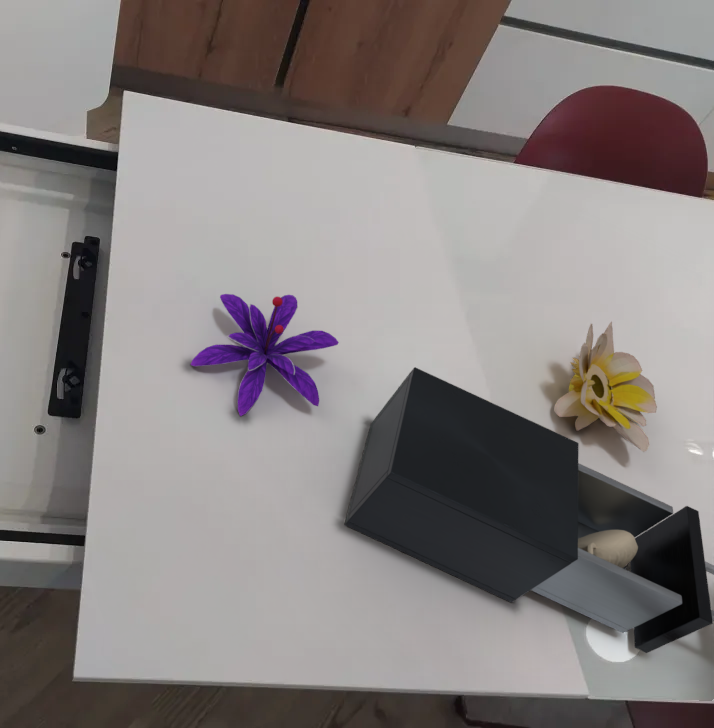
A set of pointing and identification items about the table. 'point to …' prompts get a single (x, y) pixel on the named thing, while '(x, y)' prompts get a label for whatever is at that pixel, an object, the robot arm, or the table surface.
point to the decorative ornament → (610, 546)
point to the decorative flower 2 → (608, 390)
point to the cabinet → (468, 488)
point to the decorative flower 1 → (265, 348)
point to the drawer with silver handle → (637, 566)
